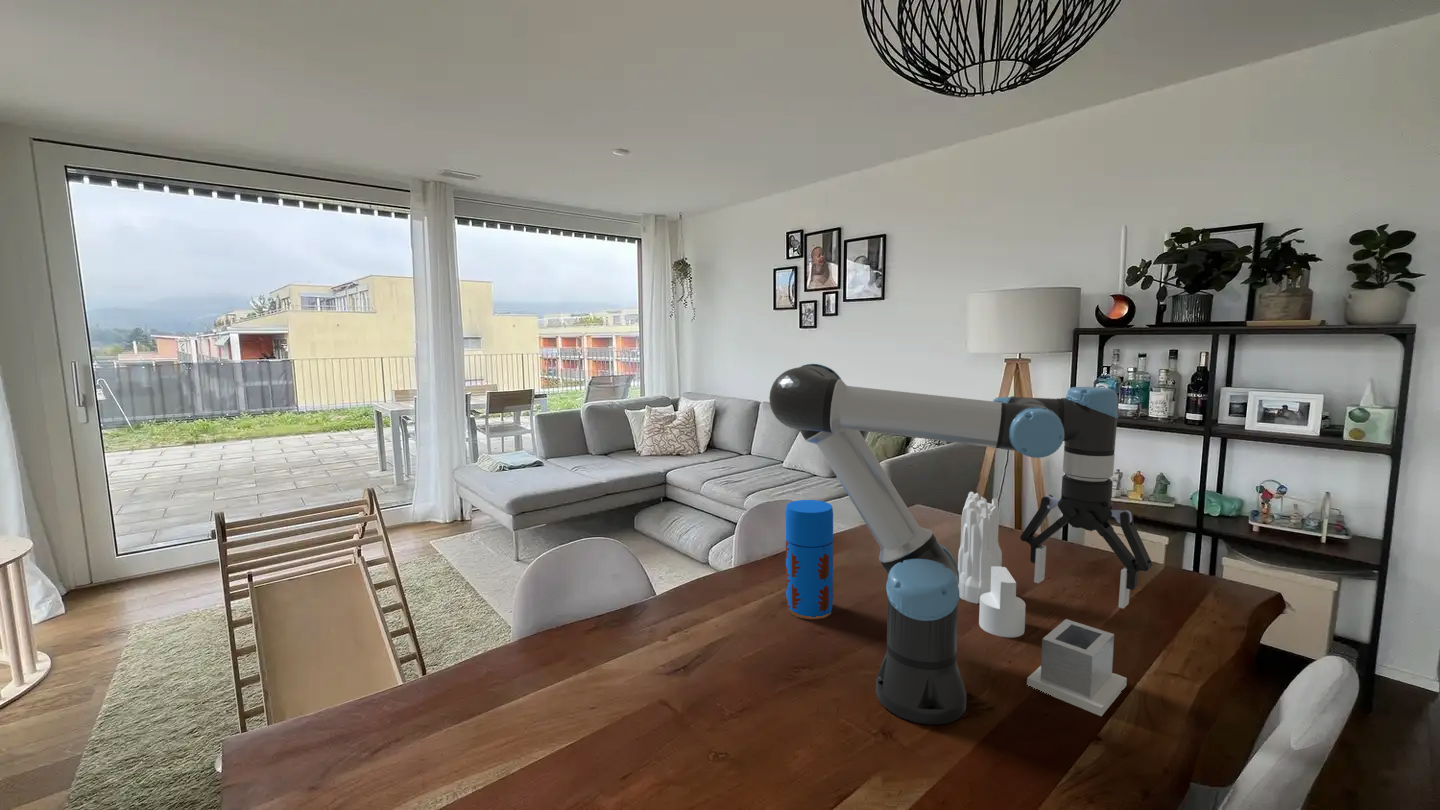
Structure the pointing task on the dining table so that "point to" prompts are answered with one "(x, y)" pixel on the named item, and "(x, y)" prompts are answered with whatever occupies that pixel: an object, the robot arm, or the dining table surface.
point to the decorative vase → (978, 547)
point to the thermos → (809, 557)
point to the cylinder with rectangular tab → (1002, 606)
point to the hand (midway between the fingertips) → (1079, 592)
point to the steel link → (1077, 658)
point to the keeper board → (1094, 705)
